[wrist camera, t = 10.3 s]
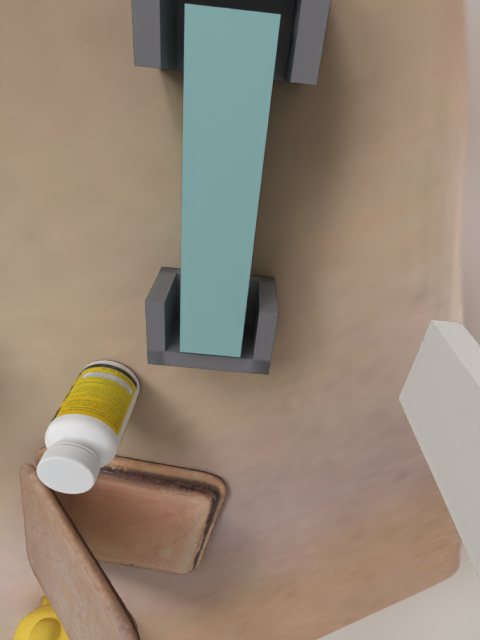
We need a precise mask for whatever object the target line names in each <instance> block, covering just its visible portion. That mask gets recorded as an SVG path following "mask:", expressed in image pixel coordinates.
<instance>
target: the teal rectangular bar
mask: <svg viewBox="0 0 480 640" xmlns="http://www.w3.org/2000/svg"><path fill="white" fill-rule="evenodd" d="M280 17H281V14H273V13H264V12H255V11H246V10H238V9H229V8H220V7H211V6H203V5H194V4H185V22H184V92H183V162H182V231H181V301H180V352H189V353H199V354H210V355H220V356H231V357H240V355H241V347H242V339H243V330H244V322H245V313H246V305H247V296H248V288H249V279H250V271H251V262H252V254H253V245H254V237H255V228H256V220H257V212H258V203H259V195H260V186H261V178H262V169H263V161H264V152H265V144H266V135H267V127H268V118H269V110H270V102H271V93H272V85H273V76H274V68H275V59H276V51H277V42H278V34H279V25H280Z"/></svg>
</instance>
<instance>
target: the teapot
mask: <svg viewBox="0 0 480 640" xmlns="http://www.w3.org/2000/svg"><path fill="white" fill-rule="evenodd" d="M41 601H42V606H41V607H38V608H36V609H35V610H34V611H32V612H31V613H29V614H28V615H27V616H26V617H24V618H23V619H22V620H21V622H20V623H19V624H18V627H17V629H16V632H15V635H14V639H13V640H69V638H68V636H67V634H66V632H65V630H64V628H63V626H62V625H61V623H60V621H59V619H58V617H57V615H56V613H55V612H54V610H53V608H52V606H51V604H50V602H49V601H48V599H47V597H43V598H42V599H41Z"/></svg>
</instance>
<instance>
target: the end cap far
mask: <svg viewBox="0 0 480 640" xmlns="http://www.w3.org/2000/svg"><path fill="white" fill-rule="evenodd" d="M180 301H181V269H179V268H169V267H162V268H161V270H160V272H159V274H158V276H157V278H156V280H155V282H154V284H153V286H152V288H151V290H150V292H149V294H148V296H147V298H146V300H145V310H146V332H147V355H148V364H155V365H166V366H177V367H188V368H199V369H210V370H221V371H232V372H243V373H254V374H265V375H268V373H269V367H270V361H271V355H272V349H273V343H274V337H275V331H276V325H277V319H278V304H277V294H276V284H275V278H273V277H262V276H252V275H250V279H249V288H248V296H247V305H246V313H245V322H244V330H243V339H242V347H241V355H240V357H231V356H220V355H210V354H199V353H189V352H180Z"/></svg>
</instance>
